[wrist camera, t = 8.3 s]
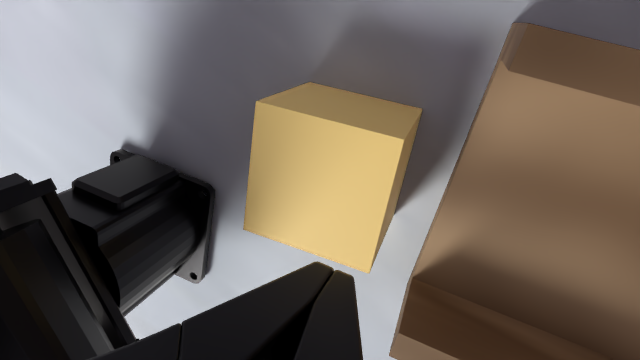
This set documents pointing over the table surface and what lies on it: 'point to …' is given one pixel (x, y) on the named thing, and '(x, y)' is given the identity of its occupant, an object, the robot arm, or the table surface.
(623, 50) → the walnut cubby
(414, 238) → the table surface
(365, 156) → the ochre cube
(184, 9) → the table surface
